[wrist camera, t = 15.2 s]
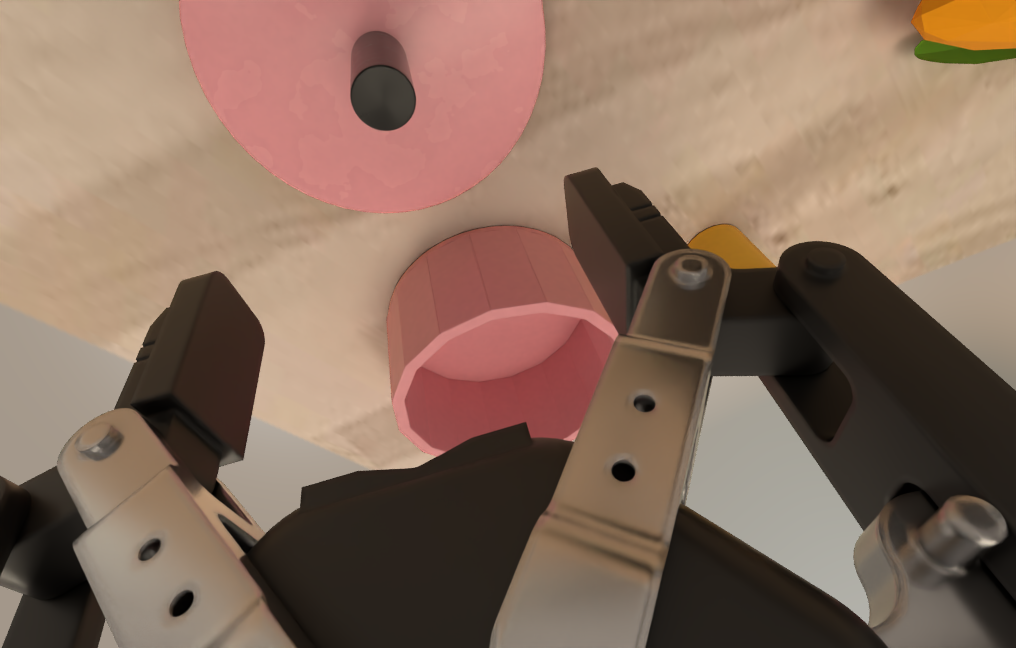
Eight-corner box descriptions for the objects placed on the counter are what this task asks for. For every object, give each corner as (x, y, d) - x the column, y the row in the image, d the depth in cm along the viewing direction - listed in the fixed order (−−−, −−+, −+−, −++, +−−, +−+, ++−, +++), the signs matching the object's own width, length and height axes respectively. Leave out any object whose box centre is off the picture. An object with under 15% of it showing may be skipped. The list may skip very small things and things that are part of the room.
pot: (369, 240, 29) (372, 327, 24) (602, 213, 32) (652, 286, 26) (404, 395, 39) (411, 480, 34) (579, 365, 41) (612, 441, 36)
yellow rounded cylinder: (689, 228, 34) (794, 346, 26) (750, 220, 35) (870, 333, 27) (674, 281, 37) (762, 401, 29) (730, 273, 38) (832, 388, 30)
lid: (102, -187, 16) (15, -200, 12) (549, -180, 19) (604, -189, 15) (259, 217, 27) (241, 285, 23) (533, 188, 29) (563, 245, 25)
